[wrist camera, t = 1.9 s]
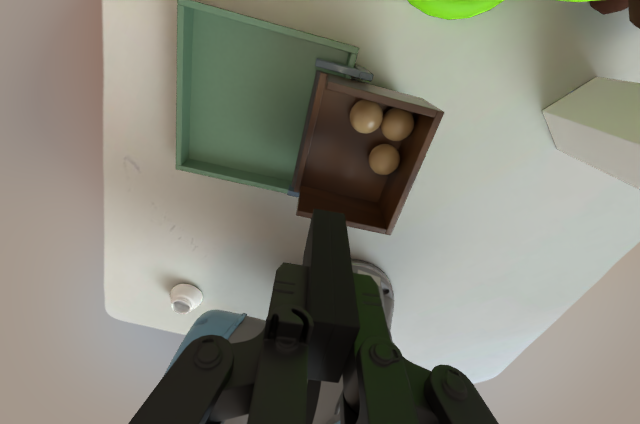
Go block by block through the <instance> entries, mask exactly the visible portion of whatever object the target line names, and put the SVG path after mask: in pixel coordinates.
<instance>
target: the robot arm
mask: <svg viewBox="0 0 640 424" xmlns="http://www.w3.org/2000/svg"><path fill="white" fill-rule="evenodd" d="M393 308H394V293H393V290H392V286H391V283H390V281H389V279H388V277H387V276H386V275H385V273H384V272H383V271H381V270H380V269H379V268H377V267H376V266H374V265H372V264H370V263H367V262H364V261H360V260H355V259H351V256H350V248H349V241H348V234H347V226H346V219H345V214H342V213H337V212H331V211H326V210H320V209H314V210H313V214H312V219H311V223H310V228H309V232H308V237H307V242H306V246H305V251H304V257H303V265H297V264H291V263H284V262H283V264H282V265H281V266H280V267H279V268H278V269H277V271H276V276H275V281H274V286H273V292H272V297H271V302H270V307H269V312H268V317H267V319H266V321H265V320H261V319H257V318H253V317H249V316H247V314H245V313H243V314H237V313H232V312H227V311H221V310H210V311H207V312H205V313H204V314H202V315H201V316H200V317H199V318H198V319H197V320H196V322H195V323H194V324H193V326H192V327H191V329H190V330H189V332H188V333H187V335H186V337H185V338H184V340H183V342H182V343H181V345H180V347H179V349H178V351H177V352H176V354H175V356H174V358H173V359H172V361H171V363H170V365H169V367H168V369H167V371H166V373H165V375H164V377H163V378H162V379H161V381H160V382H159V384H158V385H157V386H156V388H155V389H154V390H153V392H152V393H151V394H150V395H149V397H148V398H147V400H146V401H145V402H144V404H143V405H142V406H141V408H140V409H139V410H138V412H137V413H136V414H135V416H134V417H133V418H132V420H131V421H130V422H129V424H498V422H497V421H496V419H495V417H494V416H493V414H492V413H491V411H490V410H489V408H488V407H487V405H486V404H485V402H484V401H483V399H482V397H481V396H480V395H479V393H478V391H477V390H476V388H475V387H474V385H473V384H472V383H471V381H470V380H469V379H468V378H467V377H466V375H464V374H463V373H462V372H460V371H459V370H458V369H456V368H453V367H451V366H449V365H439V366H436V367H434V369H433V370H432V372H431V371H429V370H427V369H425V368H422V367H420V366H418V365H416V364H413V363H412V362H410V361H408V360H406V359H405V358H404V357H403V356H402V354H401V352H400V350H399V349H398V348H397V346H396V345H395V344H394V343H393V342H392V338H391V333H390V329H391V322H392V315H393Z"/></svg>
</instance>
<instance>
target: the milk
mask: <svg viewBox="0 0 640 424" xmlns="http://www.w3.org/2000/svg"><path fill="white" fill-rule="evenodd" d="M542 112H543V115H544V117H545V120H546V122H547V125H548V127H549V130H550V132H551V135H552V137H553V140H554V142H555V145H556V147H557V149H558V150H559V151H561V152H563V153H565V154H567V155H569V156H571V157H574V158H576V159H578V160H580V161H582V162H584V163H586V164H588V165H590V166H592V167H594V168H596V169H598V170H600V171H602V172H605V173H607V174H609V175H611V176H613V177H615V178H617V179H619V180H621V181H623V182H625V183H627V184H629V185H631V186H634V187H636V188H638V189H640V83H635V82H628V81H621V80H615V79H608V78H601V77H595V78H594V79H592V80H590V81H589V82H587V83H586V84H584V85H582V86H581V87H579V88H578V89H576V90H574V91H573V92H571V93H570V94H568V95H566V96H565V97H563V98H562V99H560V100H558V101H557V102H555V103H554V104H552V105H550V106H549V107H547V108H545V109H544V110H542Z"/></svg>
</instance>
